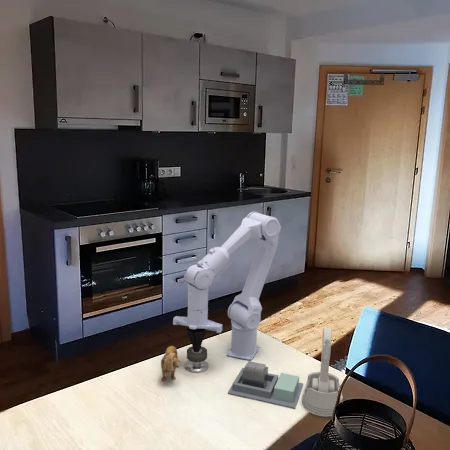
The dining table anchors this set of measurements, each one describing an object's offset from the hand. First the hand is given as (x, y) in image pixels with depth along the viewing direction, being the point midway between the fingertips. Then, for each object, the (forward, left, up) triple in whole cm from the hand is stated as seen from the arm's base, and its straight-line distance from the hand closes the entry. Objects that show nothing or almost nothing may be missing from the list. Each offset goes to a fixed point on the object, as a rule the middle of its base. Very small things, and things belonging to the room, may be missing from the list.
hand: (196, 350), depth 136 cm
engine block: (+4, +19, -5) cm, 20 cm away
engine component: (+5, +37, -5) cm, 38 cm away
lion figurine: (+7, -5, -5) cm, 10 cm away
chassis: (+4, +22, -5) cm, 23 cm away
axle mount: (0, 0, -5) cm, 5 cm away
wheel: (0, 0, -2) cm, 2 cm away
